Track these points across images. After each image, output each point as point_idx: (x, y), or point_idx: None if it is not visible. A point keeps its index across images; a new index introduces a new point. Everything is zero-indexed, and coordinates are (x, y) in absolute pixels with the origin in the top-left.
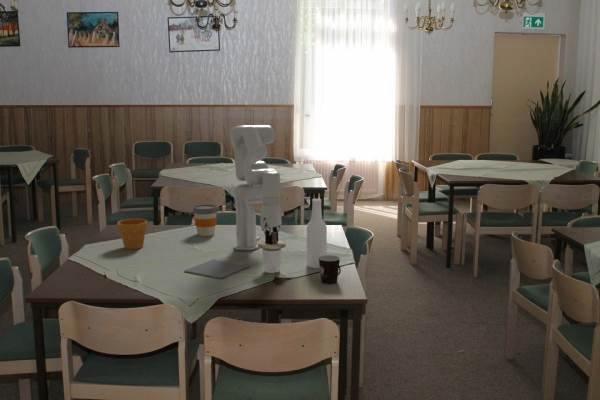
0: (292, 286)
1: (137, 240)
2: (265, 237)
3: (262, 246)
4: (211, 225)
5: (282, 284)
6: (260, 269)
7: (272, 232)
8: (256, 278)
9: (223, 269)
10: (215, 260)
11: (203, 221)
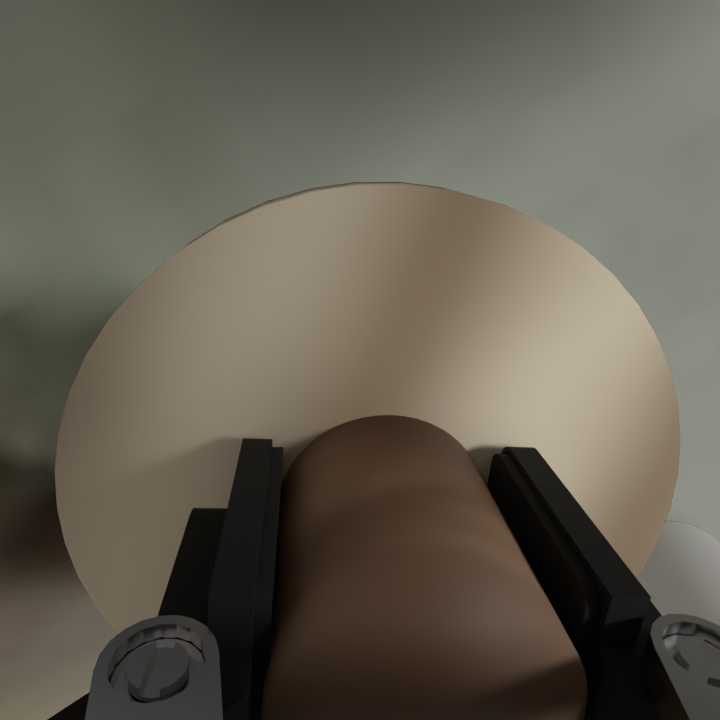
0: (42, 666)
1: None
2: (223, 530)
3: (63, 448)
4: None
5: (34, 588)
6: (337, 172)
7: (489, 711)
8: (28, 303)
9: None
10: None
11: None
